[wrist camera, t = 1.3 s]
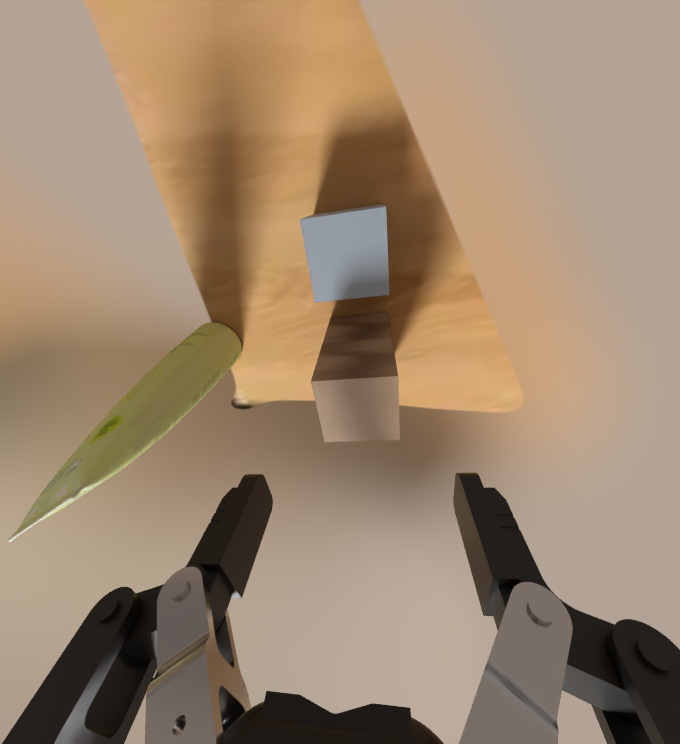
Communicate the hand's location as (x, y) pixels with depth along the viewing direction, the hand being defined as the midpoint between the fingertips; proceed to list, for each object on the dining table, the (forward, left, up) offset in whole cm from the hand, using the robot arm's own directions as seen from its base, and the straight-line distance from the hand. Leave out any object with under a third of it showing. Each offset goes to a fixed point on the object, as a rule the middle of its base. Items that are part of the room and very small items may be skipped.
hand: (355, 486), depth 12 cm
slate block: (-5, +4, -18) cm, 19 cm away
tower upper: (+1, -2, -13) cm, 13 cm away
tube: (-10, -12, -18) cm, 24 cm away
